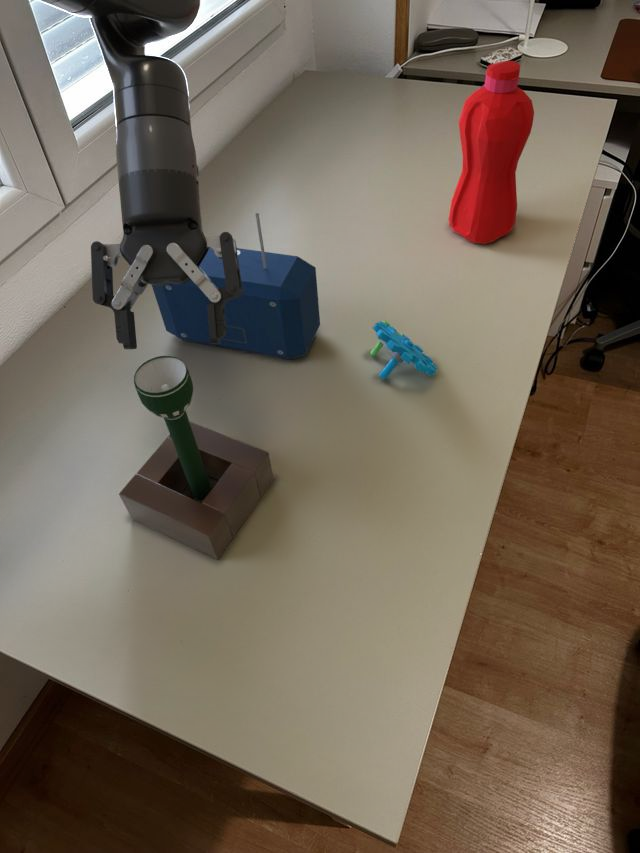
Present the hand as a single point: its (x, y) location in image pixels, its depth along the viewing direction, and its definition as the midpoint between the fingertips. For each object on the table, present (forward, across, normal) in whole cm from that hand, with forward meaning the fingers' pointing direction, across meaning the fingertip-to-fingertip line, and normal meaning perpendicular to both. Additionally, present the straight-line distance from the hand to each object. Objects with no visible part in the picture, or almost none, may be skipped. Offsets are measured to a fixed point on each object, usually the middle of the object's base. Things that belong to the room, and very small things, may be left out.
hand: (173, 346), depth 64 cm
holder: (+17, 0, +9) cm, 19 cm away
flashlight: (+17, 0, +9) cm, 19 cm away
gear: (+4, +25, +23) cm, 34 cm away
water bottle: (-18, +40, +45) cm, 63 cm away
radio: (-2, +3, +29) cm, 29 cm away
